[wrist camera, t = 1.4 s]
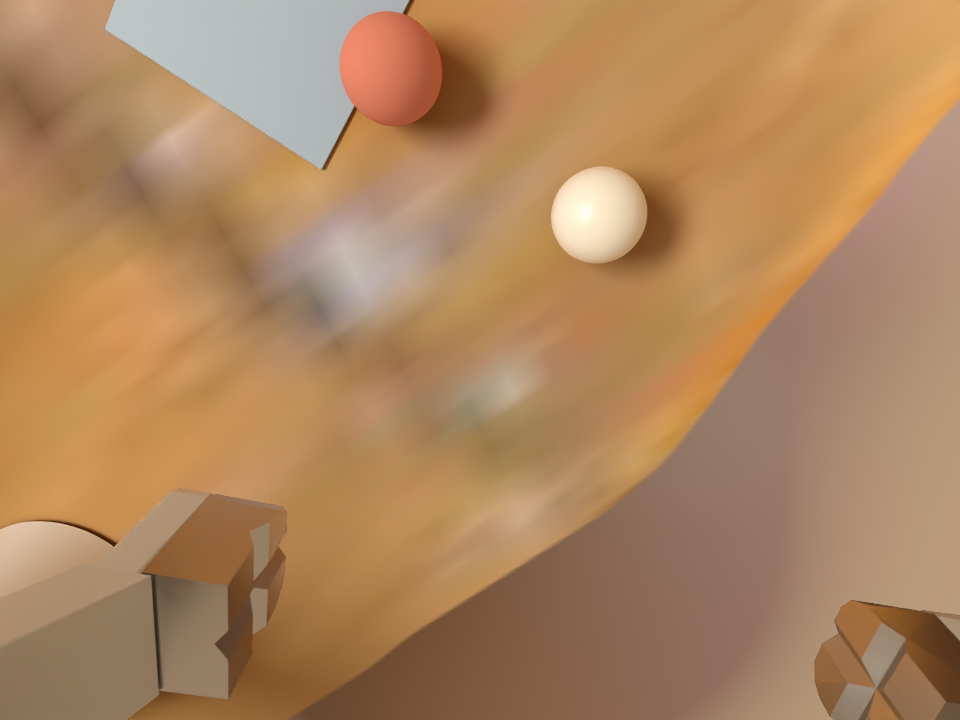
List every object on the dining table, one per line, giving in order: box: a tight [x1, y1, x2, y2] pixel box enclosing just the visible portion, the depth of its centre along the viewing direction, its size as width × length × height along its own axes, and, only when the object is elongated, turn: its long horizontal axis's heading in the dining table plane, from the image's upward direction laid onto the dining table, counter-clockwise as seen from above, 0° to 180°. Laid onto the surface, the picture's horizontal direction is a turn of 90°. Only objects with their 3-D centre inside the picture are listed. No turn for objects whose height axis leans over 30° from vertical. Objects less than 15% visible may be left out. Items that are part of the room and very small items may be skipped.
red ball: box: [339, 11, 442, 126], centre depth 30 cm, size 6×6×6 cm
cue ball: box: [551, 166, 647, 264], centre depth 32 cm, size 6×6×6 cm
